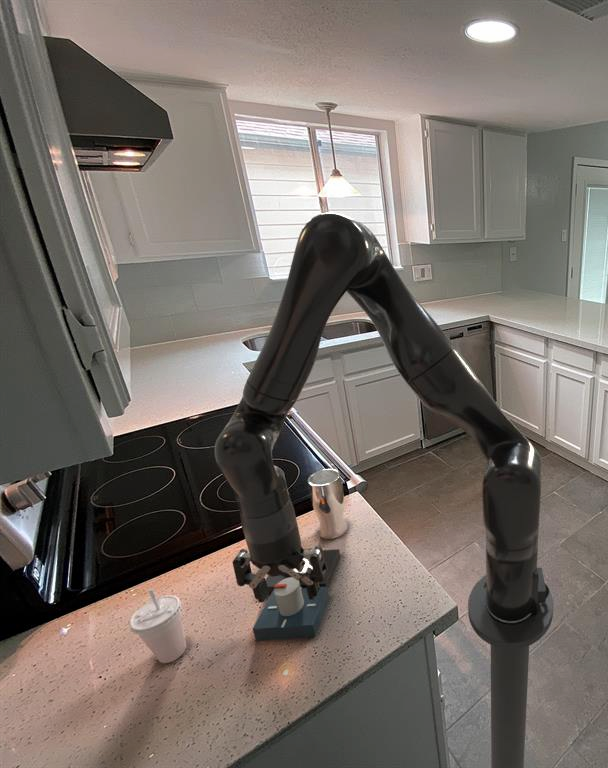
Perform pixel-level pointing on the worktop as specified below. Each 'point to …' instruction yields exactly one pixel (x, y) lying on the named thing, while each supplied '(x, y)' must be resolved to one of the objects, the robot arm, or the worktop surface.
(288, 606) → the dial
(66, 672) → the worktop surface
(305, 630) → the knob panel
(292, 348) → the robot arm
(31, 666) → the worktop surface
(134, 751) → the worktop surface
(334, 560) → the orange push button panel
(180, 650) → the smoothie
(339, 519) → the silver metal cup
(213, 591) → the worktop surface
